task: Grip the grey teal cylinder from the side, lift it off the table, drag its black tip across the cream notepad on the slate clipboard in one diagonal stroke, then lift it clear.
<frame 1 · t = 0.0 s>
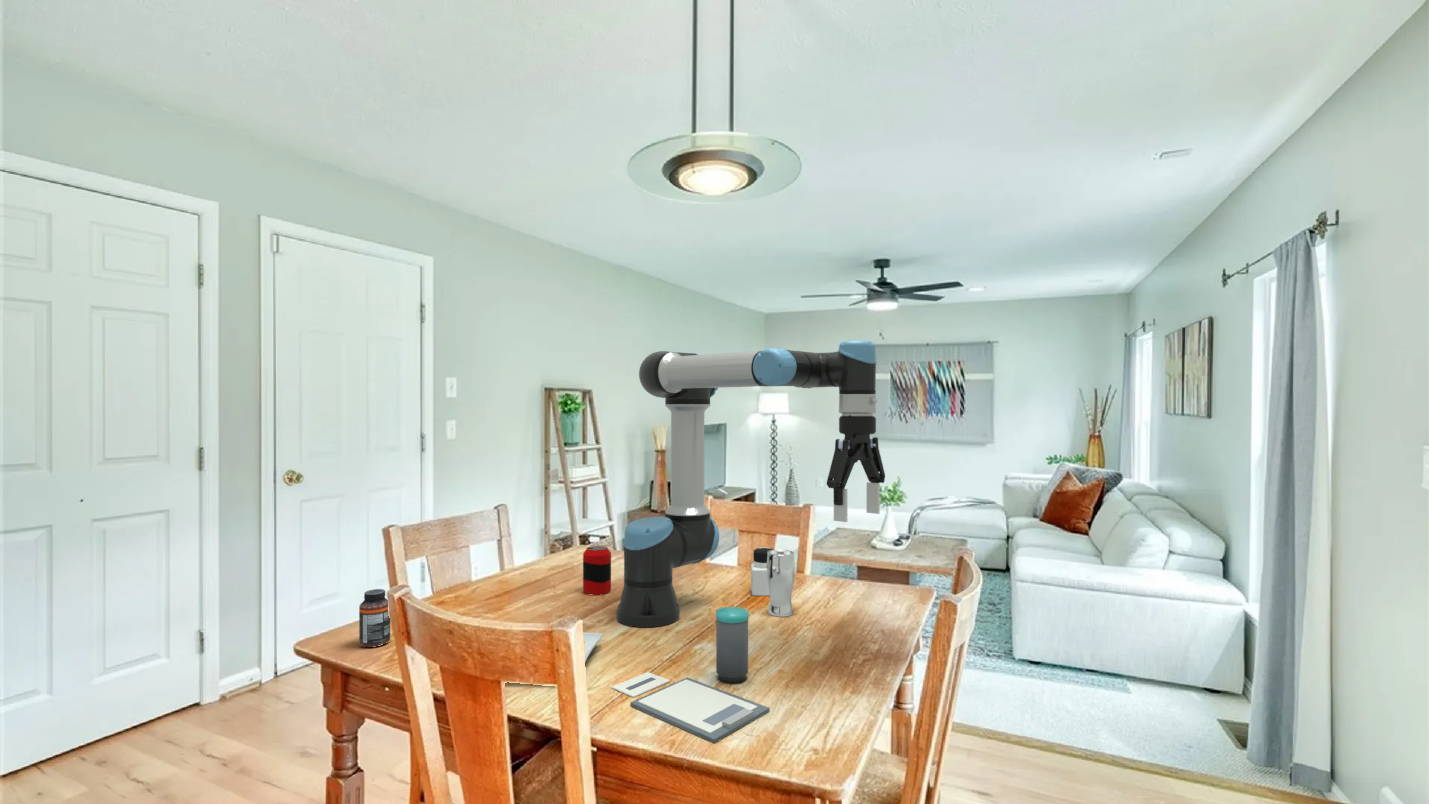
hand: (857, 517, 138), 28 cm above the table, tool pointing down, fingers open, 13 cm apart
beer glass: (780, 613, 164), on the table
supplement bottle: (374, 644, 142), on the table
word card: (641, 684, 121), on the table
salad plate: (539, 666, 131), on the table
soda can: (597, 592, 182), on the table
clipboard: (699, 708, 112), on the table
grey teal cylinder: (732, 677, 125), on the table
medicine bottle: (764, 593, 182), on the table
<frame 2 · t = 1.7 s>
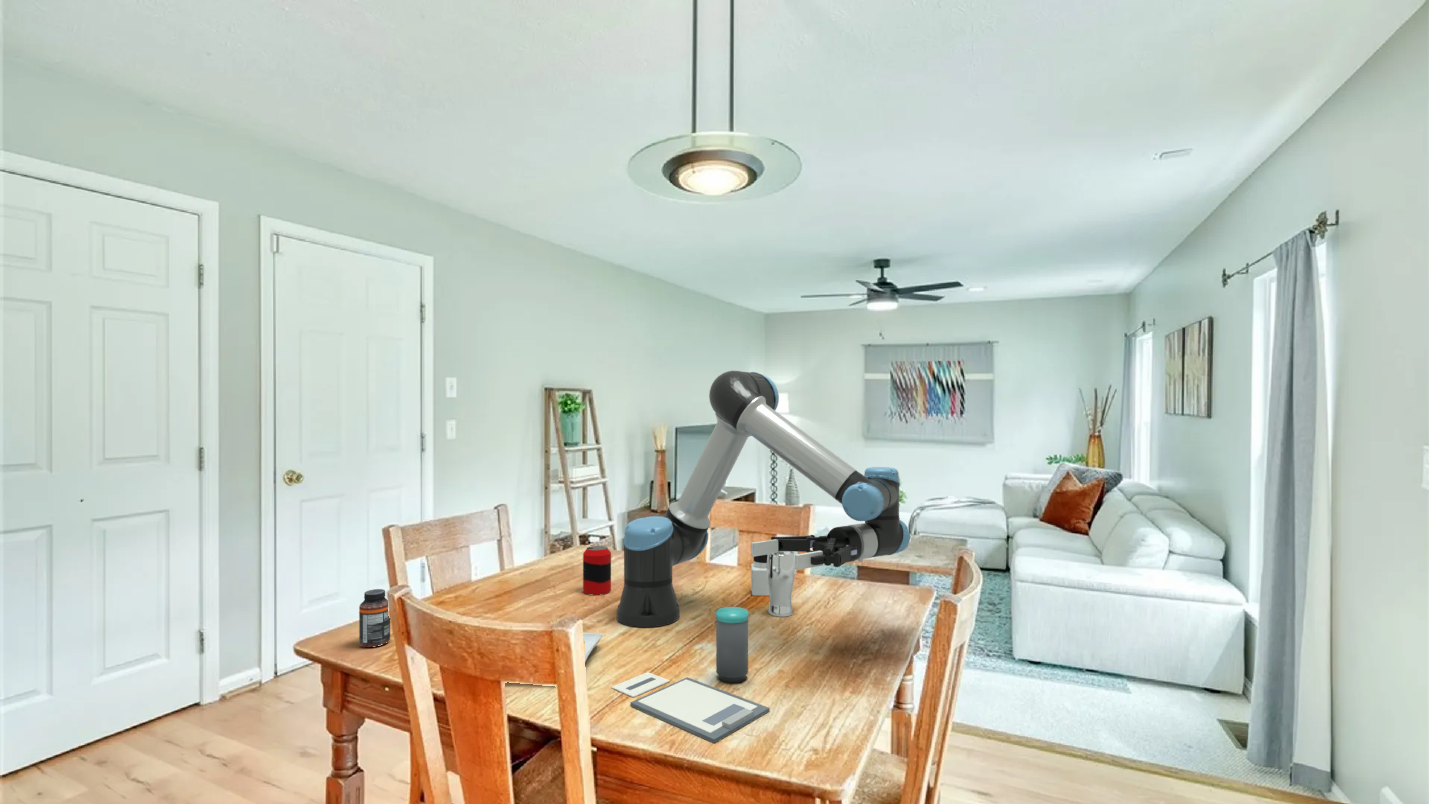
hand: (773, 555, 130), 22 cm above the table, tool horizontal, fingers open, 13 cm apart
nothing on the table moved.
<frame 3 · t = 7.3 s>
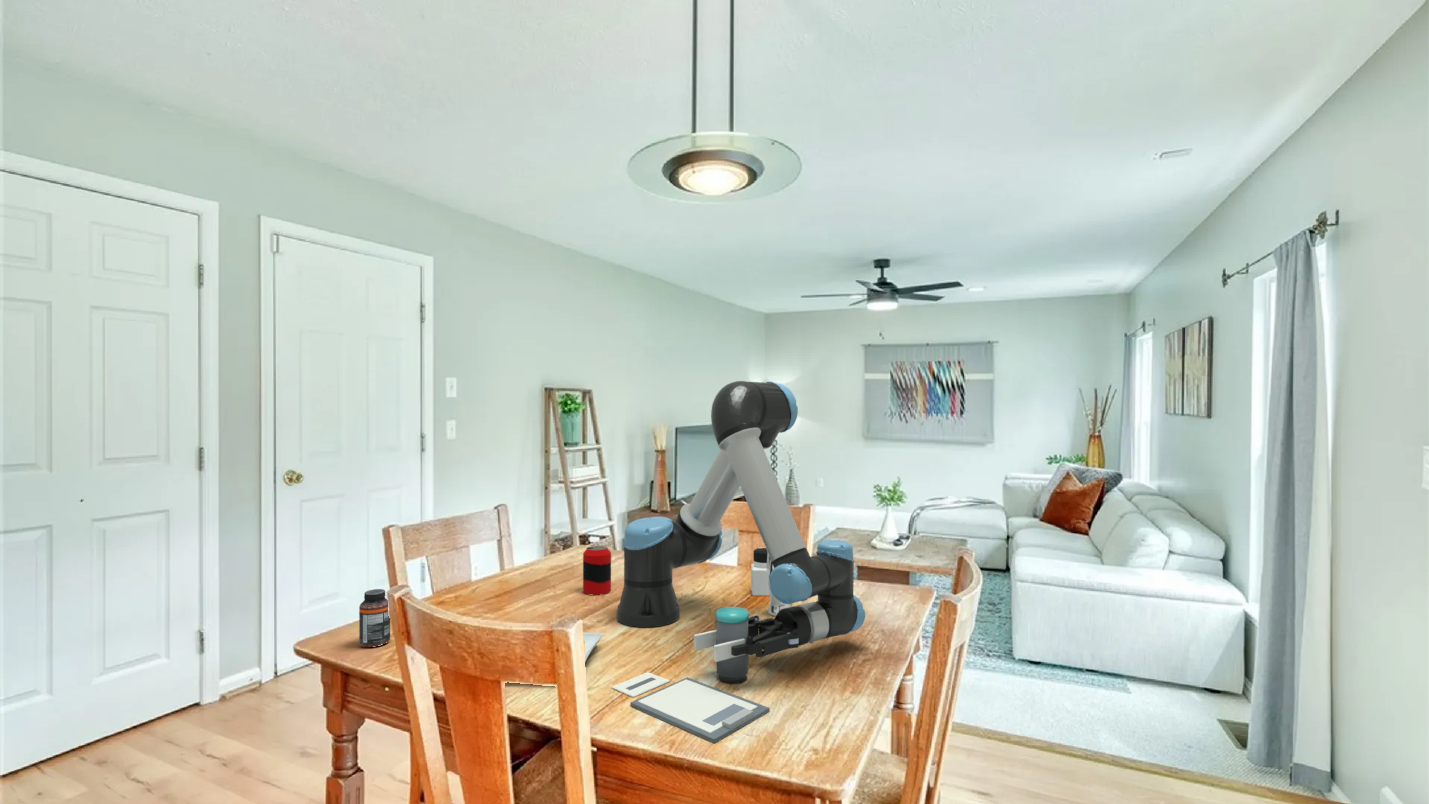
hand: (704, 648, 121), 7 cm above the table, tool horizontal, fingers closed on grey teal cylinder, 6 cm apart
grey teal cylinder: (732, 677, 125), on the table, touching gripper
everything else where it was.
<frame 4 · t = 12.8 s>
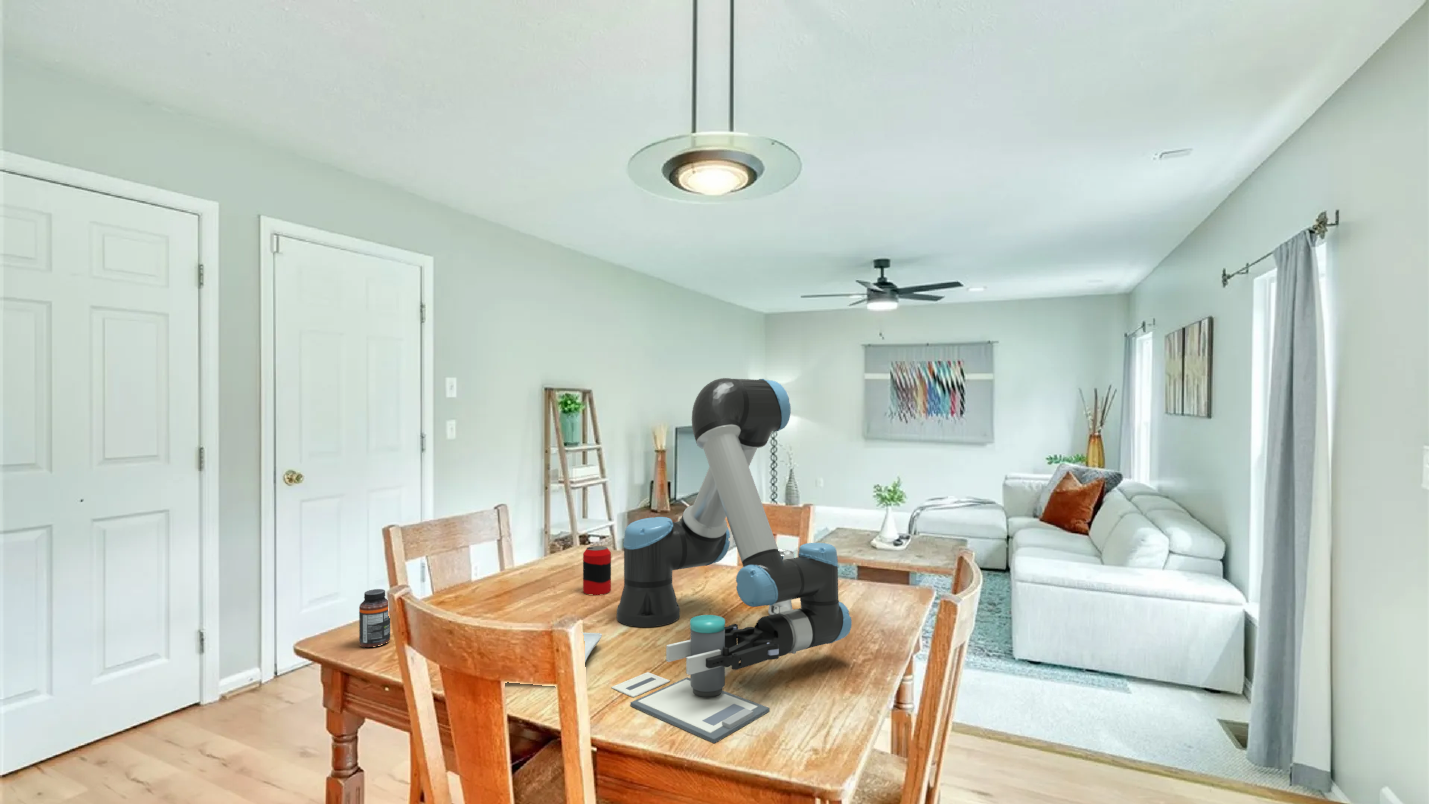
hand: (677, 659, 113), 8 cm above the table, tool horizontal, fingers closed on grey teal cylinder, 6 cm apart
grey teal cylinder: (707, 691, 116), point 1 cm above the table, touching gripper
everything else where it was.
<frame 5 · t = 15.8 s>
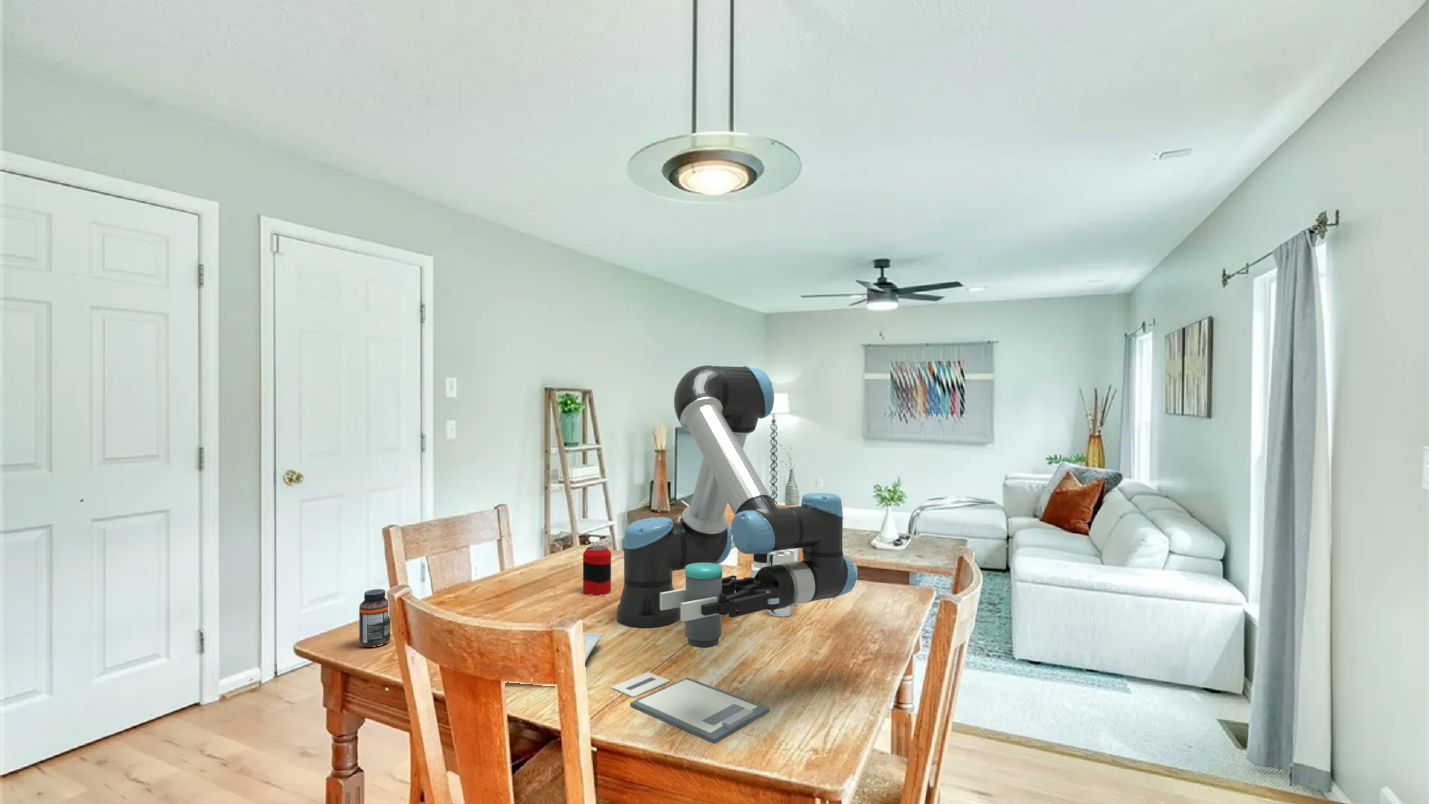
hand: (671, 606, 106), 19 cm above the table, tool horizontal, fingers closed on grey teal cylinder, 6 cm apart
grey teal cylinder: (703, 642, 109), point 12 cm above the table, touching gripper
everything else where it was.
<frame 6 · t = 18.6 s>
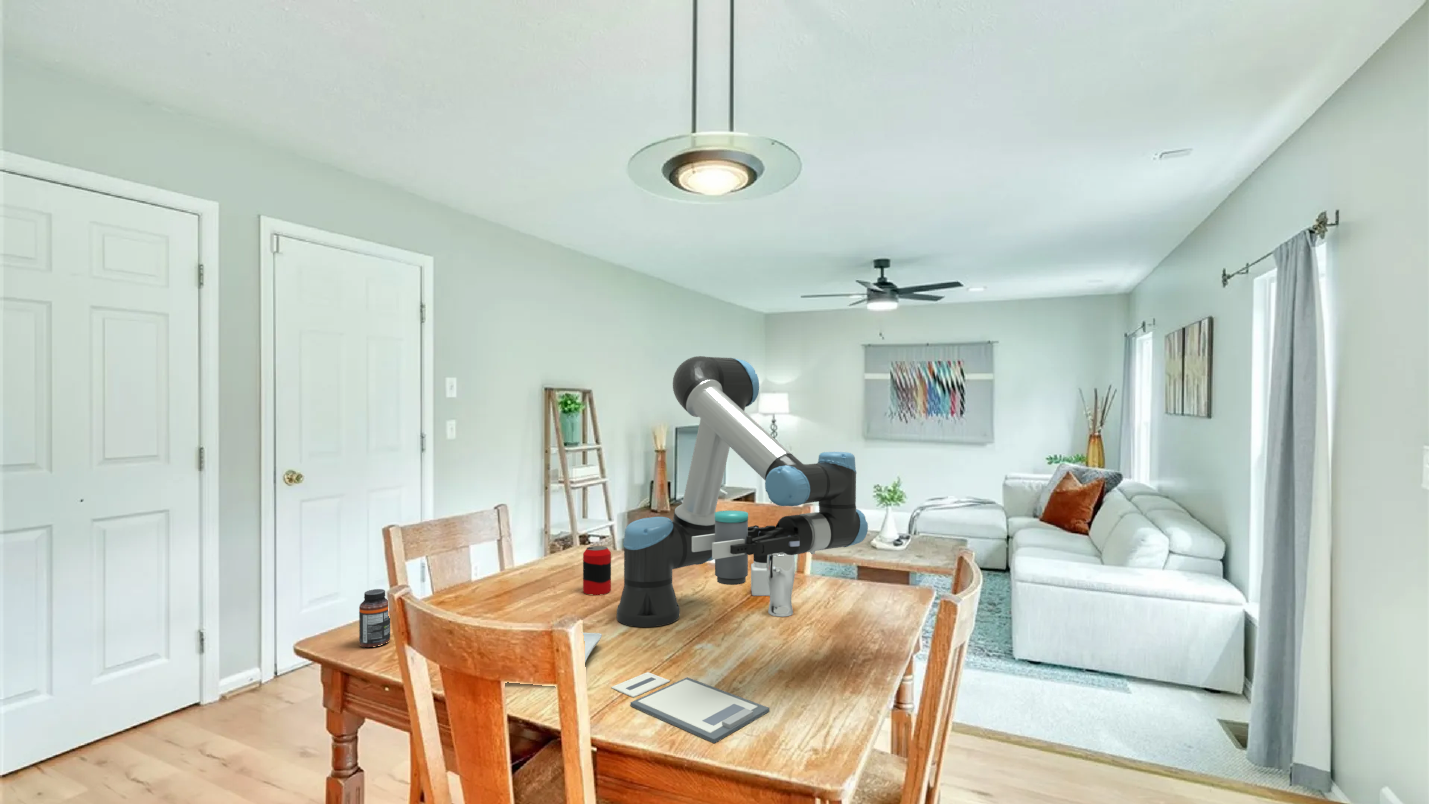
hand: (703, 547, 118), 26 cm above the table, tool horizontal, fingers closed on grey teal cylinder, 6 cm apart
grey teal cylinder: (731, 581, 121), point 19 cm above the table, touching gripper
everything else where it was.
at the end: the gripper is holding grey teal cylinder; grey teal cylinder moved 19.5 cm from its start; grey teal cylinder inside the target area (8.4 cm from its centre), point 19.1 cm above the table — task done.
